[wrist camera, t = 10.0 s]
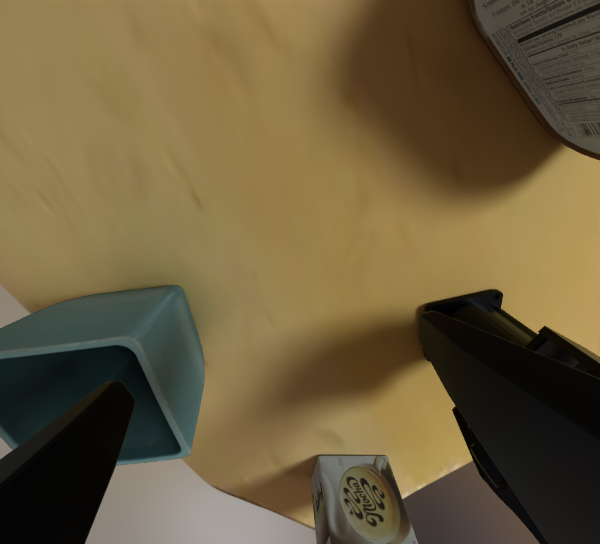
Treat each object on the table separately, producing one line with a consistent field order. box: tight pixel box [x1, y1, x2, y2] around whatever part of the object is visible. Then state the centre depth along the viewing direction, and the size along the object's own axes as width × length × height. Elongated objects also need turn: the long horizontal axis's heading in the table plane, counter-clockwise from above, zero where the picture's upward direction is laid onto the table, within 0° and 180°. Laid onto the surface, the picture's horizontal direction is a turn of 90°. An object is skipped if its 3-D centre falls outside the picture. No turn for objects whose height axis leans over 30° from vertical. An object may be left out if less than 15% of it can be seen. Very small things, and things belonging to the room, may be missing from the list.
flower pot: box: [0, 285, 205, 466], centre depth 16 cm, size 9×9×9 cm
